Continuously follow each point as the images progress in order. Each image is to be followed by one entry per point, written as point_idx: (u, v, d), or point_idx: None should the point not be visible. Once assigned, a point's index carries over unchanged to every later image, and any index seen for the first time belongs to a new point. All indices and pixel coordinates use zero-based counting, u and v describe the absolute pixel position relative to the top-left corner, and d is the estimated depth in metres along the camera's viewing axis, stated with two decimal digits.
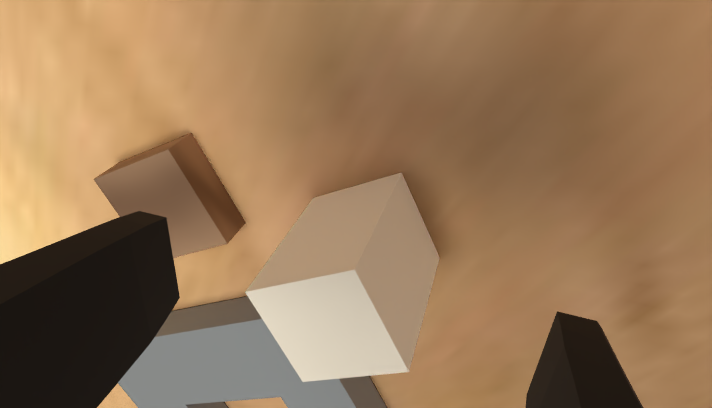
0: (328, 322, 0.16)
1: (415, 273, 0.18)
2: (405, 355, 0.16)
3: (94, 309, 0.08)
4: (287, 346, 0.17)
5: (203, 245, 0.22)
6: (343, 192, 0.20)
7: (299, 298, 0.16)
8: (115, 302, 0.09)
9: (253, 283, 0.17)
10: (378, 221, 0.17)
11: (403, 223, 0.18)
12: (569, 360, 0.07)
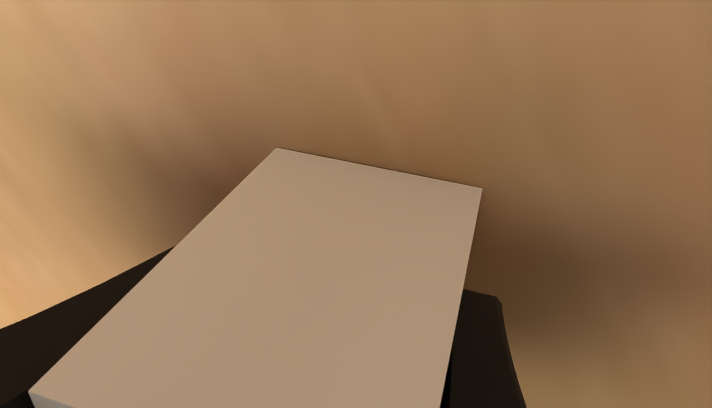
0: None
1: (375, 259, 0.07)
2: None
3: None
4: None
5: None
6: None
7: None
8: None
9: None
10: (176, 247, 0.07)
11: (296, 205, 0.08)
12: None
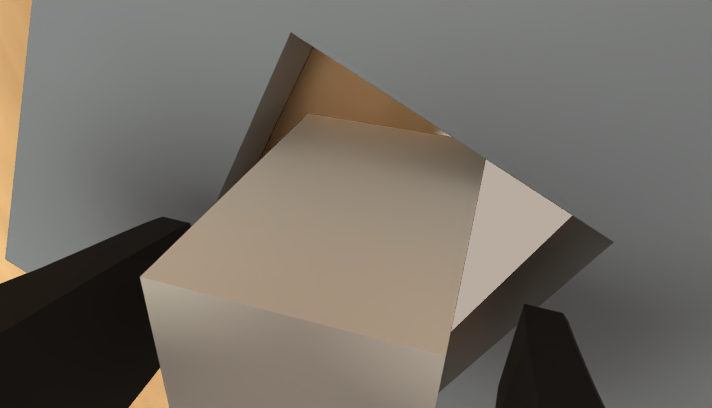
0: (262, 397, 0.07)
1: (401, 193, 0.09)
2: (414, 330, 0.06)
3: (122, 318, 0.08)
4: None
5: None
6: None
7: (200, 400, 0.08)
8: (141, 310, 0.09)
9: None
10: (236, 184, 0.09)
11: (331, 155, 0.10)
12: (530, 350, 0.07)
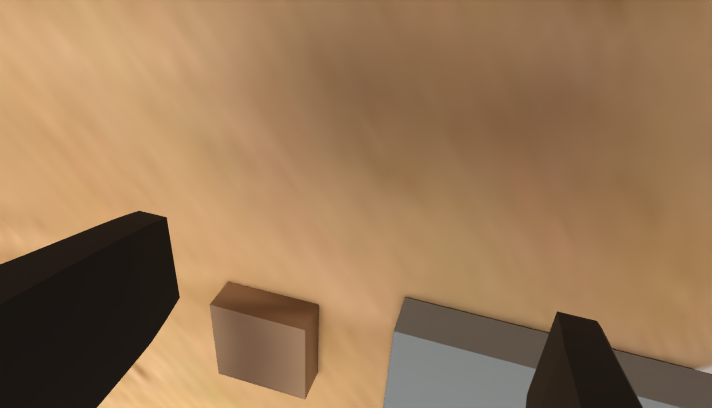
0: None
1: None
2: None
3: (95, 309, 0.08)
4: None
5: (300, 349, 0.23)
6: None
7: None
8: (115, 302, 0.09)
9: None
10: None
11: None
12: (569, 360, 0.07)
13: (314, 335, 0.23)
